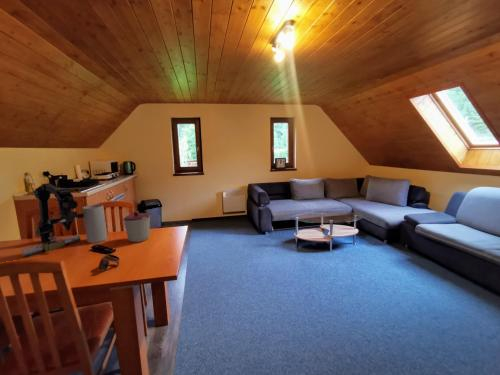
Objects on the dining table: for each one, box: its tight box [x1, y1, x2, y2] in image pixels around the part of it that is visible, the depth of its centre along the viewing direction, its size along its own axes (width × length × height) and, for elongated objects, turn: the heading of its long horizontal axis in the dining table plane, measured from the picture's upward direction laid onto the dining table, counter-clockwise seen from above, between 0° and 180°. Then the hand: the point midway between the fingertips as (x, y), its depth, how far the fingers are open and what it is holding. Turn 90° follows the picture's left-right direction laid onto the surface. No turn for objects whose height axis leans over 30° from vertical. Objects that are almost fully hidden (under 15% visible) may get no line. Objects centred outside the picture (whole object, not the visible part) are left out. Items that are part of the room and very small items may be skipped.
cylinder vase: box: [82, 204, 108, 244], centre depth 180 cm, size 12×12×25 cm
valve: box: [21, 234, 81, 258], centre depth 170 cm, size 7×31×6 cm, turn 145°
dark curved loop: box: [97, 253, 120, 272], centre depth 136 cm, size 12×10×8 cm
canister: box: [122, 210, 151, 243], centre depth 178 cm, size 18×18×21 cm
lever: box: [49, 235, 62, 243], centre depth 166 cm, size 14×4×1 cm, turn 55°
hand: (68, 230), depth 168 cm, fingers closed
